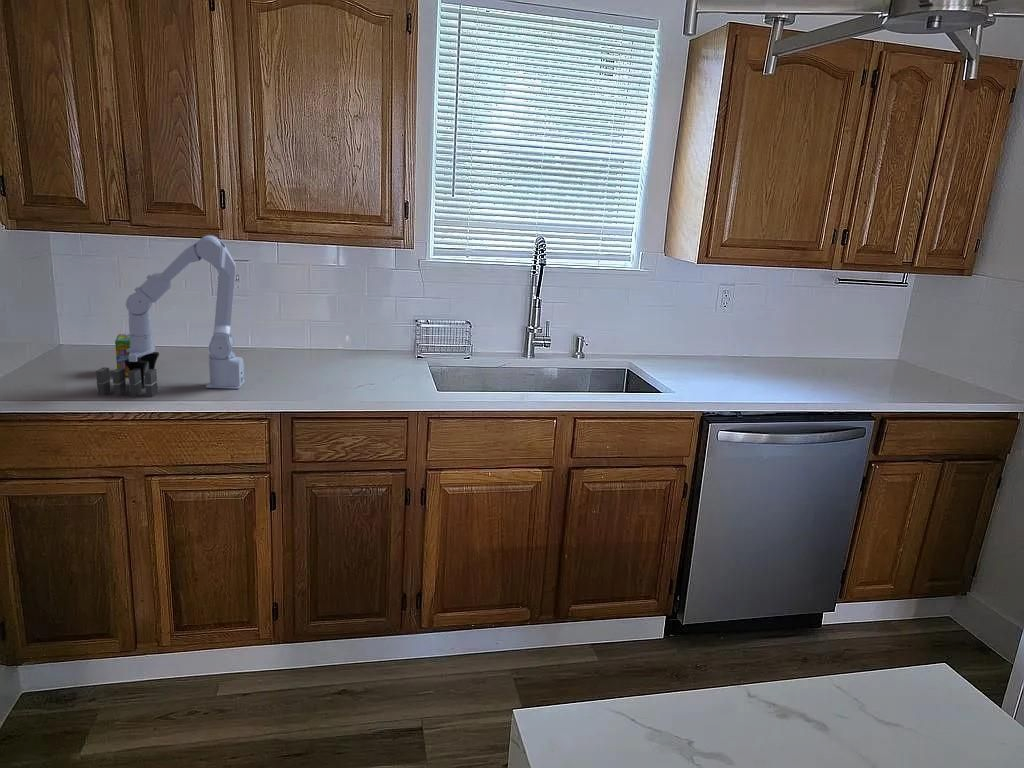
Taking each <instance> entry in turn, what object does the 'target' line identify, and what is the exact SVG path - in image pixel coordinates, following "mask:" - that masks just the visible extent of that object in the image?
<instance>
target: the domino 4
mask: <svg viewBox="0 0 1024 768" xmlns="http://www.w3.org/2000/svg"><path fill="white" fill-rule="evenodd" d="M148 370H149V362H147V364H146V367H145V372H146V371H148ZM145 372H144V373H145ZM142 390H146V389H145V374H144V382H143V384H142Z"/></svg>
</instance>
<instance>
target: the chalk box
mask: <svg viewBox="0 0 1024 768" xmlns="http://www.w3.org/2000/svg"><path fill="white" fill-rule="evenodd" d="M114 342H115V345H114V346H115V359H116V369H118V368H125V377H129V374H128V372H130V370H129V368H128V367H127V365H126V364H125V360H127V359H129V354H130V352H126V350H127V349H128V348H131V346H130V333H119V334H117V336H116V339H115V341H114Z"/></svg>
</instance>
